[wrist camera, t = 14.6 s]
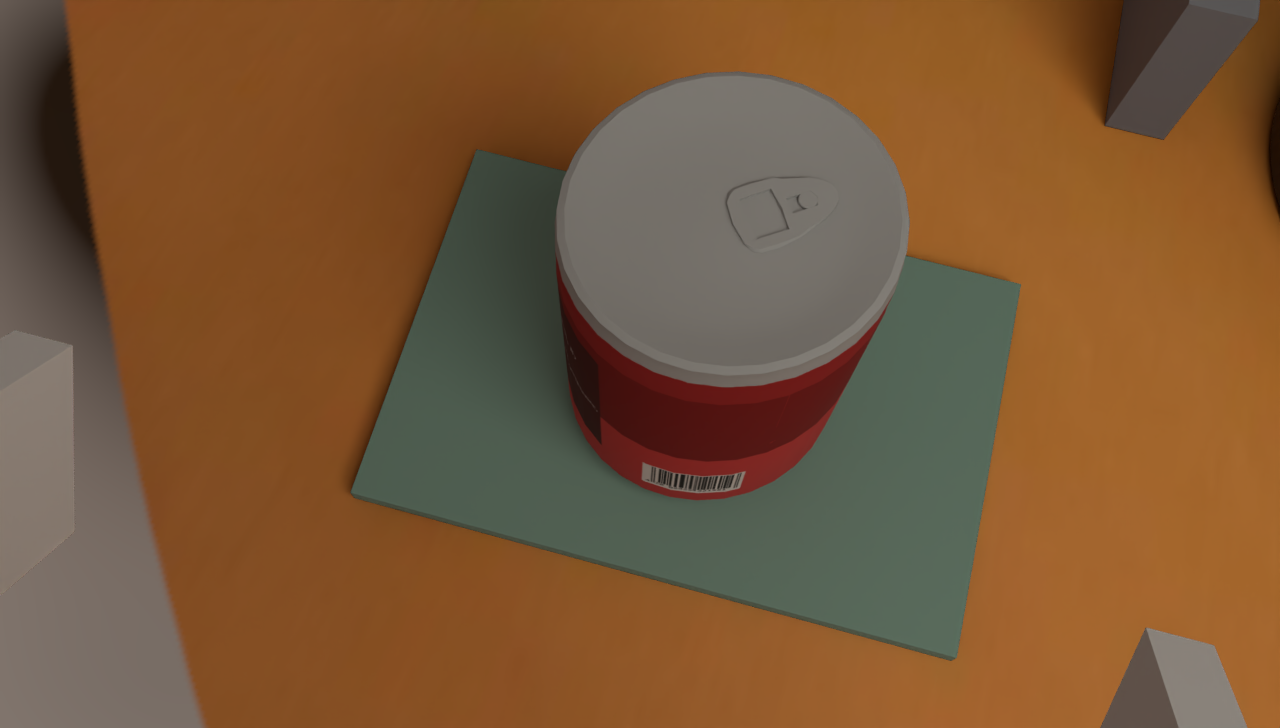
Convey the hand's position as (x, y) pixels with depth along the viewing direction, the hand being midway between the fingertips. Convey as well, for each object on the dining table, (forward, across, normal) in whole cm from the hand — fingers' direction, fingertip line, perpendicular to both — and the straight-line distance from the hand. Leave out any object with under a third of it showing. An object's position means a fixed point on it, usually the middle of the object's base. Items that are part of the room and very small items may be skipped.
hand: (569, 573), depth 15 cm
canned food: (+22, 0, -8) cm, 23 cm away
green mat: (+22, 0, -8) cm, 23 cm away
